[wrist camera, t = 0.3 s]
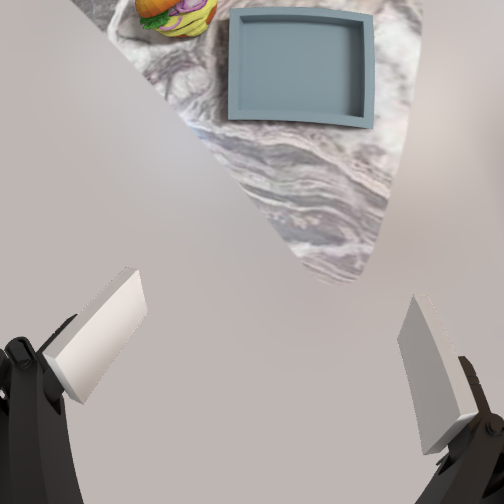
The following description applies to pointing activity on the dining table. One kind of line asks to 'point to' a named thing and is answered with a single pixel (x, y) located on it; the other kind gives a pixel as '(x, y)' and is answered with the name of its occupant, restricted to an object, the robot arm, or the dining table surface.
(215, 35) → the dining table surface
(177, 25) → the cheeseburger
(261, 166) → the dining table surface
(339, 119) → the bin
